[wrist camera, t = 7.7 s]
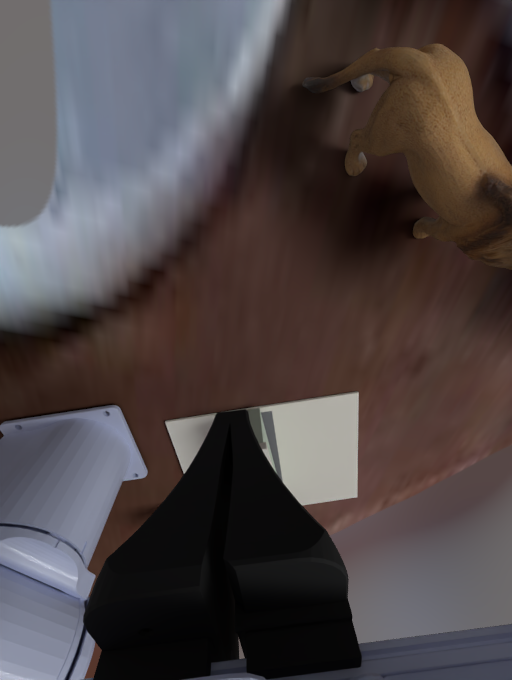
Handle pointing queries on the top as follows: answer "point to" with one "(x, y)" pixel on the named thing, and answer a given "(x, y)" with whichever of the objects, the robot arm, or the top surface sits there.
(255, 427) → the pale green long block
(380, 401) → the top surface
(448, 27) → the top surface
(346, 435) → the card
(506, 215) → the lion figurine
